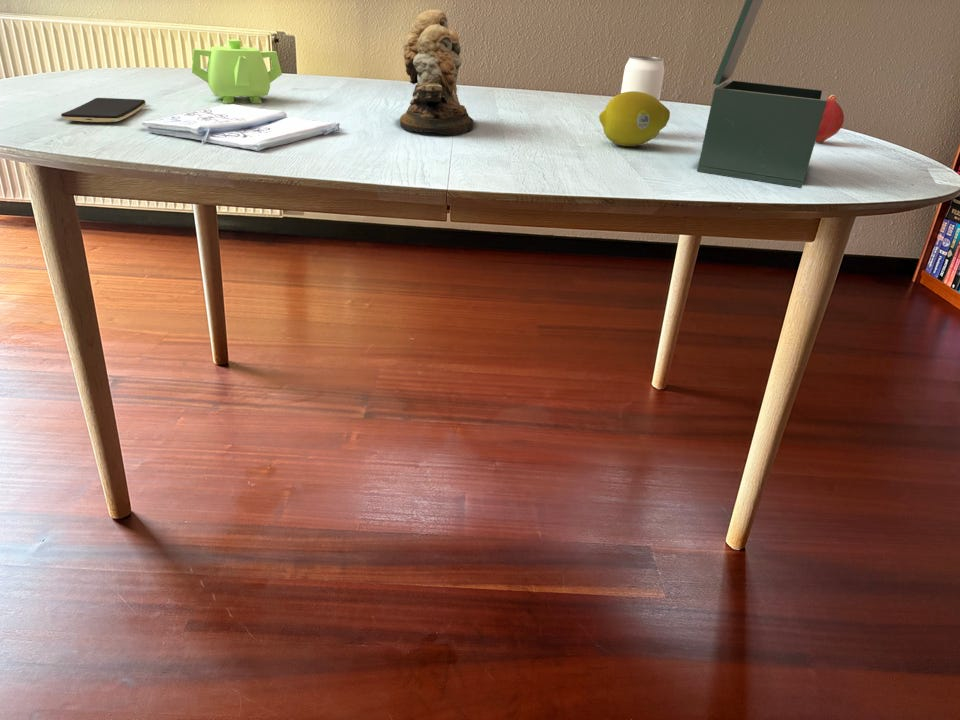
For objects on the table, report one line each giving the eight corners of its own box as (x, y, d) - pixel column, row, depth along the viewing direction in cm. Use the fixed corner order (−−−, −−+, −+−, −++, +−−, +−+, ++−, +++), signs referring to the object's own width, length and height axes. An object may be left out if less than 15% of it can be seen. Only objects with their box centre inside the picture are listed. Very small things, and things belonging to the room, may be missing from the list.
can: (608, 130, 118) (619, 54, 112) (640, 130, 120) (653, 56, 114) (626, 137, 113) (639, 59, 107) (660, 137, 115) (674, 60, 109)
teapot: (191, 100, 118) (182, 37, 114) (233, 92, 128) (227, 35, 123) (248, 108, 115) (242, 44, 111) (287, 100, 125) (283, 41, 120)
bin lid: (776, -34, 92) (738, -45, 93) (768, -40, 81) (724, -52, 82) (731, 77, 100) (696, 65, 101) (718, 85, 89) (679, 72, 90)
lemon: (597, 148, 104) (605, 92, 100) (593, 138, 111) (600, 85, 107) (668, 153, 103) (679, 98, 100) (659, 143, 110) (669, 91, 106)
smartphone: (59, 114, 95) (96, 97, 108) (61, 122, 95) (97, 104, 108) (116, 116, 96) (146, 99, 109) (117, 124, 96) (147, 107, 109)
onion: (814, 146, 117) (829, 96, 113) (793, 139, 122) (806, 91, 118) (843, 146, 119) (858, 98, 115) (821, 139, 123) (835, 92, 120)
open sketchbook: (238, 115, 109) (236, 101, 108) (344, 132, 102) (343, 117, 101) (140, 132, 93) (137, 116, 92) (256, 154, 87) (255, 137, 86)
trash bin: (805, 168, 100) (828, 90, 95) (801, 187, 89) (827, 100, 84) (711, 154, 105) (728, 79, 100) (696, 171, 94) (714, 88, 89)
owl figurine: (470, 140, 103) (476, 14, 95) (392, 134, 103) (392, 8, 95) (475, 120, 119) (481, 10, 111) (407, 115, 119) (408, 5, 111)
